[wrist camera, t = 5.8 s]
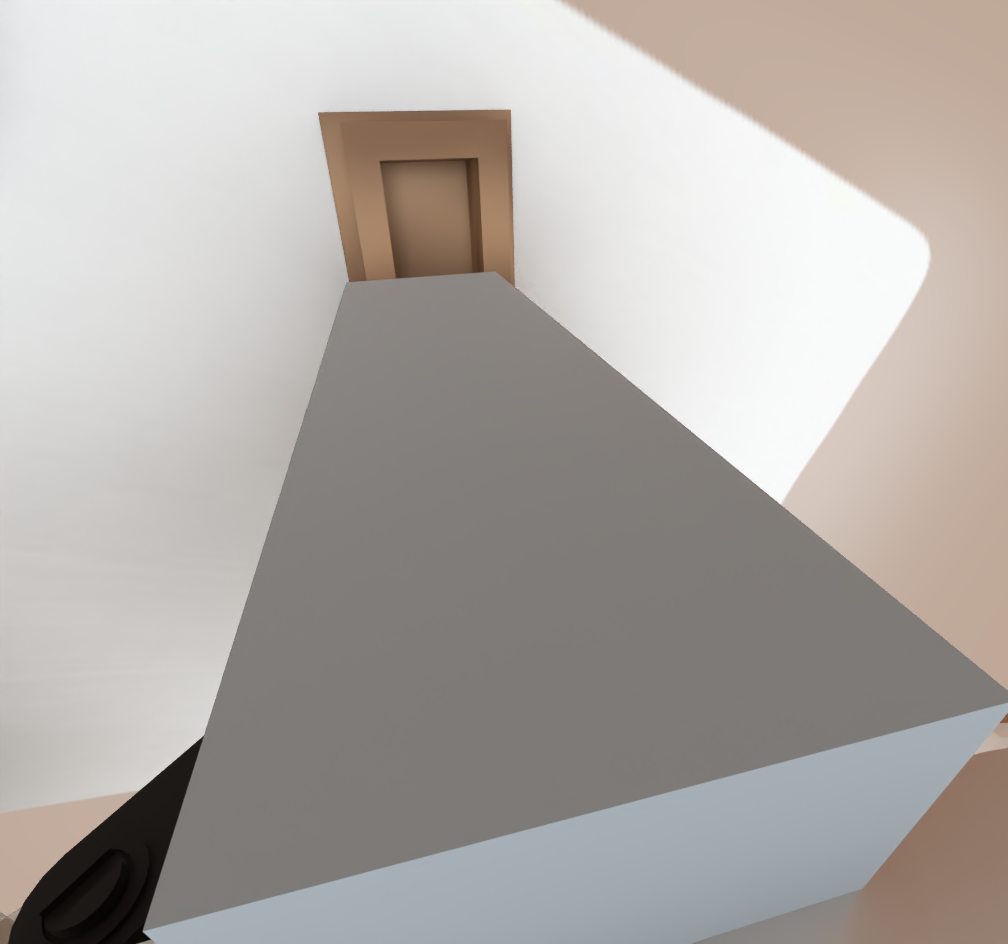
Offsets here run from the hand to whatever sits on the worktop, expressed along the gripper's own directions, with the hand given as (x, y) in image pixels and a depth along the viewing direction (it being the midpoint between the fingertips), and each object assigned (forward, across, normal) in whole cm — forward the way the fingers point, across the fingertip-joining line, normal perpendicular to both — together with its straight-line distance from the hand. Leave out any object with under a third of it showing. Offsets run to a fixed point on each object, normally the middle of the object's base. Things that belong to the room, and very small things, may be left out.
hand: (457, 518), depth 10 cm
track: (+18, -1, 0) cm, 18 cm away
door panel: (+2, 0, 0) cm, 2 cm away
